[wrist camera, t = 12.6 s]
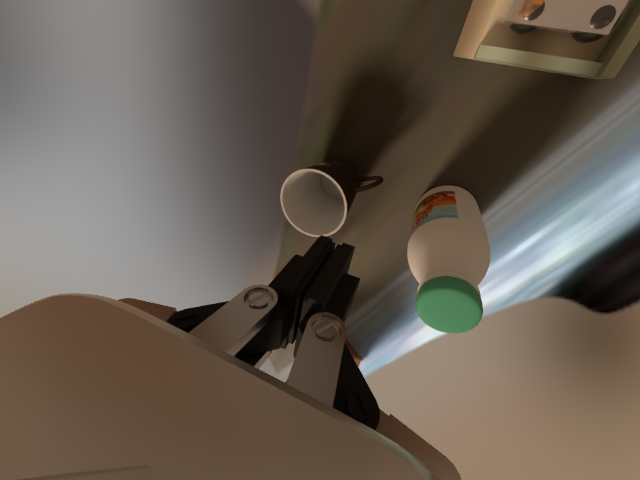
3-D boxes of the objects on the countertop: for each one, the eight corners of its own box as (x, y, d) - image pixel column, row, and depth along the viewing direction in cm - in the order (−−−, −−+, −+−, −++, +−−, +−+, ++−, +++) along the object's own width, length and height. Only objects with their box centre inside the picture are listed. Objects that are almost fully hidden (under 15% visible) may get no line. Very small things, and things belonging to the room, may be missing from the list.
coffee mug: (310, 201, 43) (280, 228, 35) (313, 147, 38) (279, 163, 30) (381, 217, 40) (366, 250, 32) (393, 159, 35) (379, 180, 27)
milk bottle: (480, 181, 33) (518, 273, 17) (475, 237, 36) (503, 358, 20) (414, 185, 36) (392, 266, 20) (415, 236, 39) (397, 340, 23)
